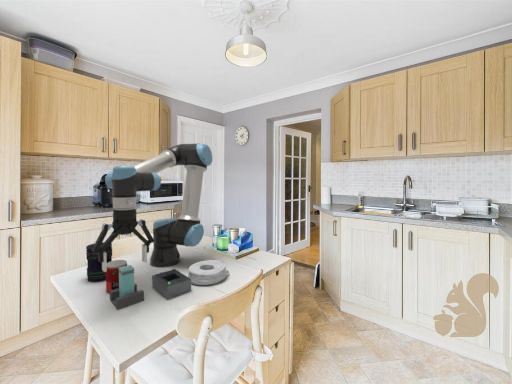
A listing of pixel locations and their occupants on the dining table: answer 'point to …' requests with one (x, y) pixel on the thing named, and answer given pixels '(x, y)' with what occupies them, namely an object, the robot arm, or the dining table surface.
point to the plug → (126, 280)
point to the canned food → (113, 274)
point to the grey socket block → (171, 283)
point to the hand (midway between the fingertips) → (125, 265)
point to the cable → (207, 272)
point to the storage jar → (96, 264)
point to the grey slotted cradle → (126, 298)
